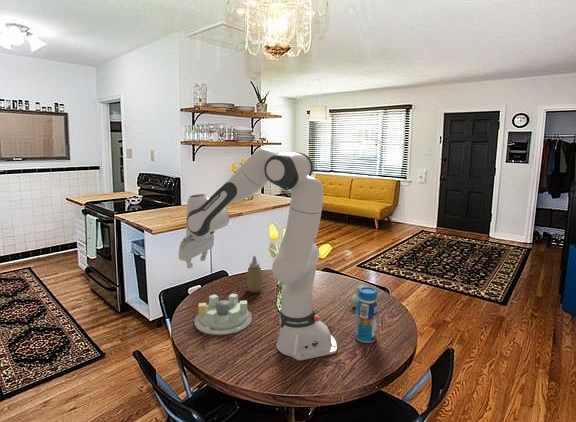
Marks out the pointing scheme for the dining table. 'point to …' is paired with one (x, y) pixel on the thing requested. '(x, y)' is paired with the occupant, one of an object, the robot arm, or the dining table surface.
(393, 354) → the dining table surface
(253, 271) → the squeeze bottle
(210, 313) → the green toy gear
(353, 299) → the air freshener
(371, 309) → the blue wipes canister
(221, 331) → the mount plate
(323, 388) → the dining table surface
